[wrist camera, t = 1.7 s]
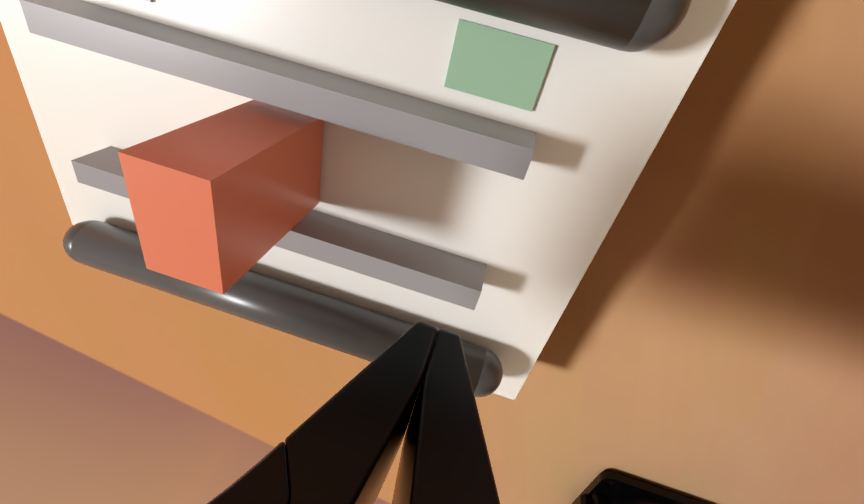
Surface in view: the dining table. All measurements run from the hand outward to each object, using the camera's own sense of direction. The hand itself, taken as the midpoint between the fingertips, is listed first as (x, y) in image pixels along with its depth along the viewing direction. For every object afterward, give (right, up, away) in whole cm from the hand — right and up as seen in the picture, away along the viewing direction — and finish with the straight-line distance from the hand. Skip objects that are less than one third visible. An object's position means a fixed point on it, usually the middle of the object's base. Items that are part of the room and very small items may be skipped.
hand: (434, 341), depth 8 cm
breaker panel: (-4, +6, +7) cm, 10 cm away
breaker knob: (-5, +5, +5) cm, 8 cm away
